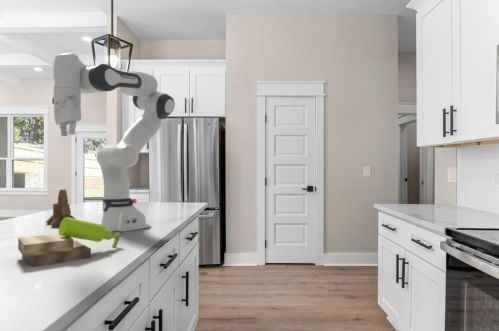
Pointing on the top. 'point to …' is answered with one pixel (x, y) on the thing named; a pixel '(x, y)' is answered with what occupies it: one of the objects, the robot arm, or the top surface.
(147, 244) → the top surface
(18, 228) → the top surface
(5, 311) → the top surface
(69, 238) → the oak top slab
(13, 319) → the top surface
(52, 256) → the walnut base slab
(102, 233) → the soap dispenser
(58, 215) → the wooden blocks
